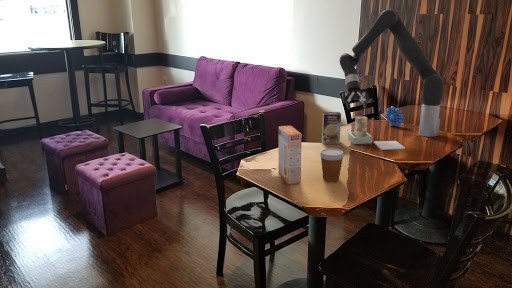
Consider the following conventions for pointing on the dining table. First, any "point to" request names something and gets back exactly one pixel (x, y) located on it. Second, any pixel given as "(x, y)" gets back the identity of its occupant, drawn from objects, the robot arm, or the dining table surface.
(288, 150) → the cracker box
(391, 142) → the grey mat
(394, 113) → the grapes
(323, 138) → the coffee box
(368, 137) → the sage holder
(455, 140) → the dining table surface
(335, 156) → the disposable coffee cup
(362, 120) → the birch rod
